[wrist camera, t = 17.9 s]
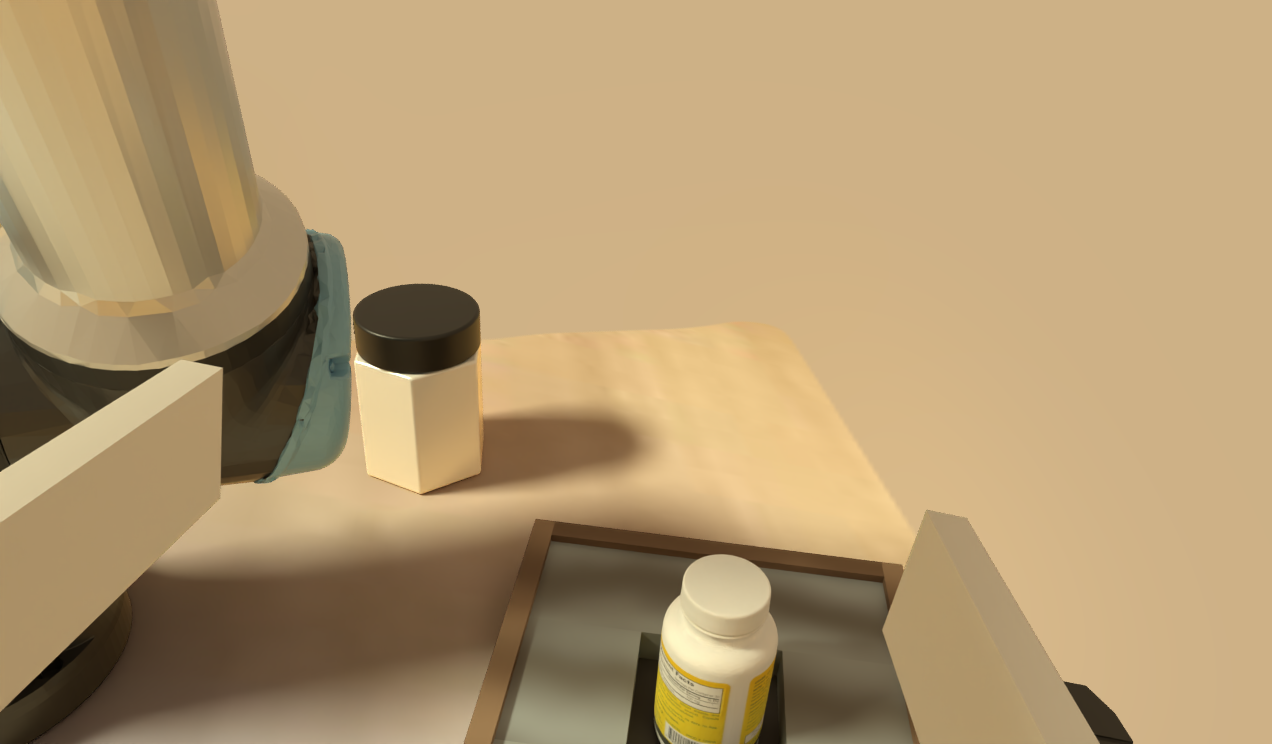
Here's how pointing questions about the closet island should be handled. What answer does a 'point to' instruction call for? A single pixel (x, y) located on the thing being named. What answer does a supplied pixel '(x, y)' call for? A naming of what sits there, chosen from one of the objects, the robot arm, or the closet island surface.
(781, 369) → the closet island surface
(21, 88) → the robot arm
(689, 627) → the supplement bottle
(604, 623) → the bore box
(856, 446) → the closet island surface
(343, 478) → the closet island surface
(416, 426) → the jar
